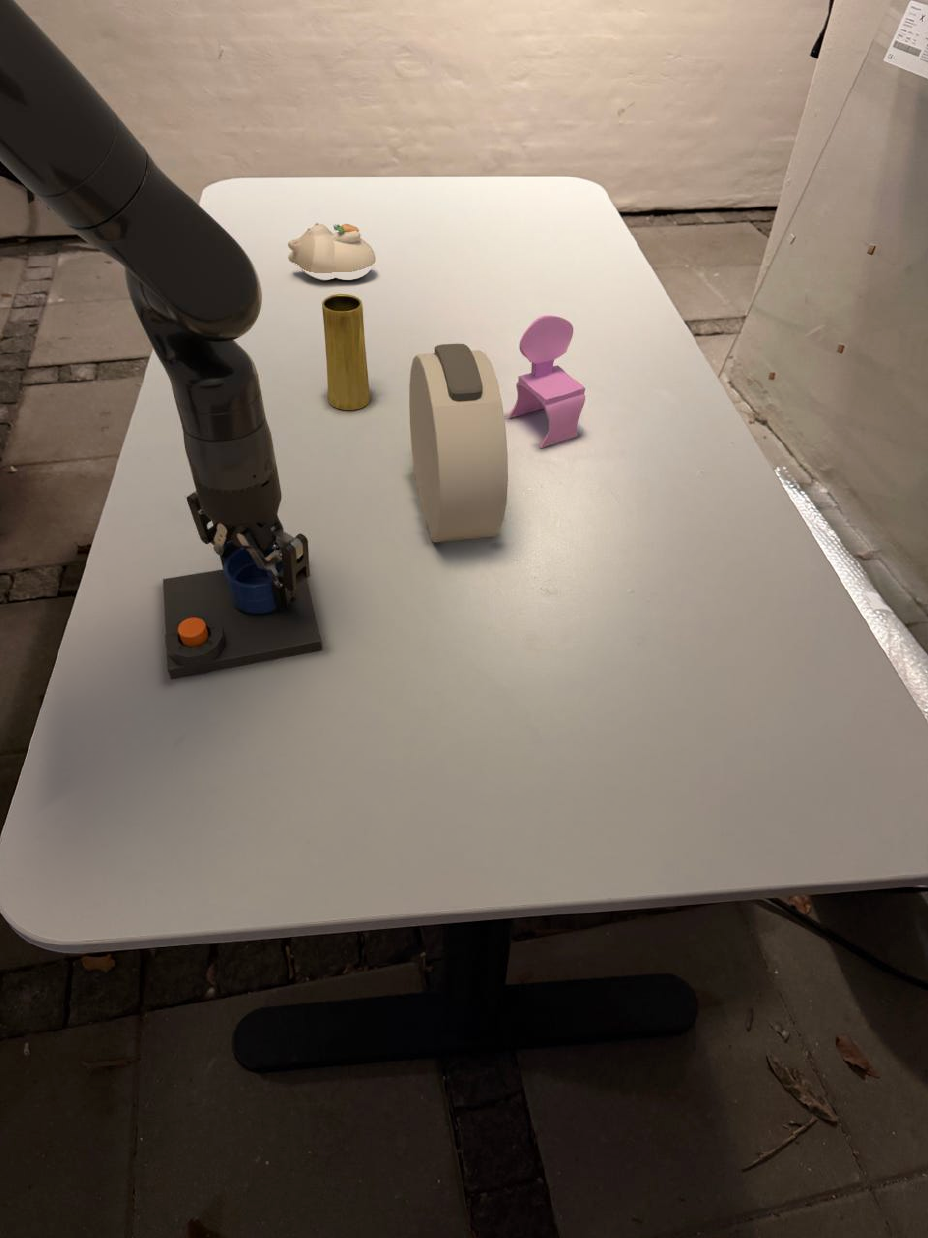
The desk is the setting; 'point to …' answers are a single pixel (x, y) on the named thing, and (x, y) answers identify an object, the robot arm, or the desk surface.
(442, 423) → the alarm clock
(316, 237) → the cat figurine
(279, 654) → the scale
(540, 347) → the toy chair
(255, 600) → the bowl
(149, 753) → the desk surface
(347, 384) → the vase
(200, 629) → the button
